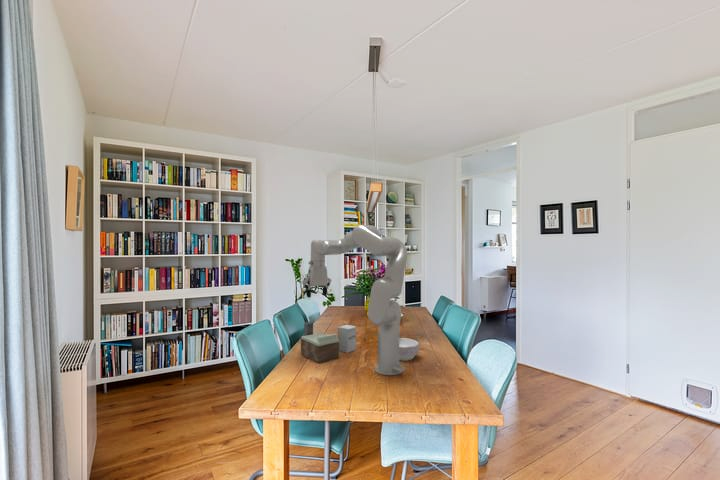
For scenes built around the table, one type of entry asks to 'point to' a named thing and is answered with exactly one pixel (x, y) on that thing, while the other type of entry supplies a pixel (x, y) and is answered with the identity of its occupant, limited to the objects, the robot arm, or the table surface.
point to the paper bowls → (407, 349)
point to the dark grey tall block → (308, 328)
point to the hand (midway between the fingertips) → (316, 296)
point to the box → (320, 351)
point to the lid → (321, 339)
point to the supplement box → (347, 338)
